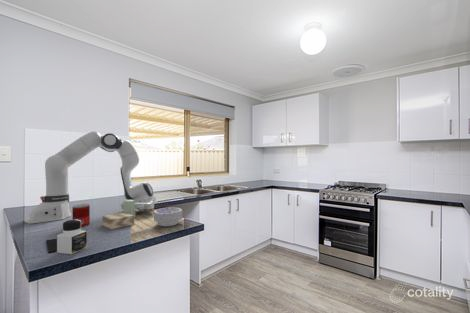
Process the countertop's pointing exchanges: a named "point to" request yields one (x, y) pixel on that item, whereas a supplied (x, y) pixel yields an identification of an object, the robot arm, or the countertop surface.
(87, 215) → the canned food
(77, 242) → the medicine bottle
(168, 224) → the paper bowls
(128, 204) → the sage green post
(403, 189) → the countertop surface
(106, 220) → the wooden base
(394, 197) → the countertop surface
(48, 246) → the cell phone
